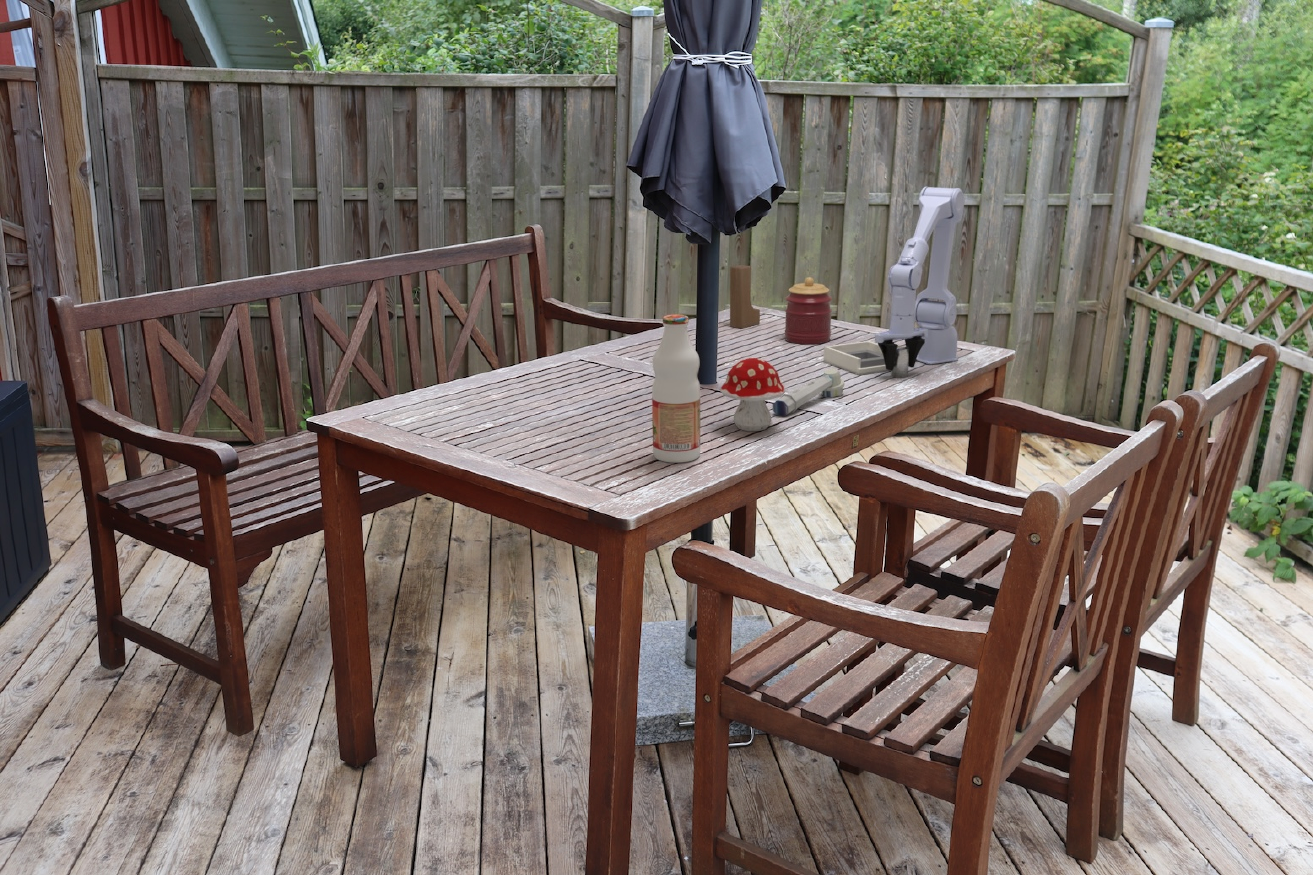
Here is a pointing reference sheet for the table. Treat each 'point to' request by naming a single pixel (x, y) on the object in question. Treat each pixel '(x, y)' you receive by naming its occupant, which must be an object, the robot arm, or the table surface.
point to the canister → (808, 313)
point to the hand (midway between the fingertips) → (899, 368)
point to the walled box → (856, 357)
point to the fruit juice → (676, 394)
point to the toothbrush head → (810, 392)
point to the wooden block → (742, 298)
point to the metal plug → (901, 362)
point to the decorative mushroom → (752, 392)
